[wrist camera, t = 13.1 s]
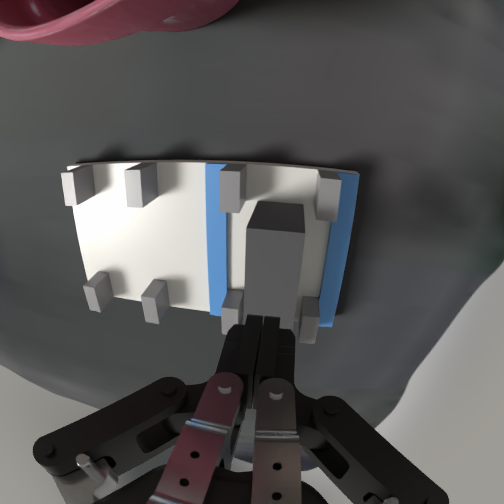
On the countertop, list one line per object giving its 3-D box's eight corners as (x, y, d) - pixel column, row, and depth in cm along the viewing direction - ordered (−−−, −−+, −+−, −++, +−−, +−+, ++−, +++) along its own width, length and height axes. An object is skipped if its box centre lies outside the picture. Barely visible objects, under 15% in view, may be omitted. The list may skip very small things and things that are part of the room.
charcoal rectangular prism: (257, 200, 20) (244, 228, 16) (304, 204, 20) (306, 233, 15) (252, 320, 24) (241, 365, 20) (290, 324, 24) (286, 370, 20)
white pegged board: (74, 163, 22) (47, 174, 18) (356, 171, 19) (367, 183, 16) (96, 286, 27) (77, 306, 24) (331, 316, 24) (334, 344, 21)
